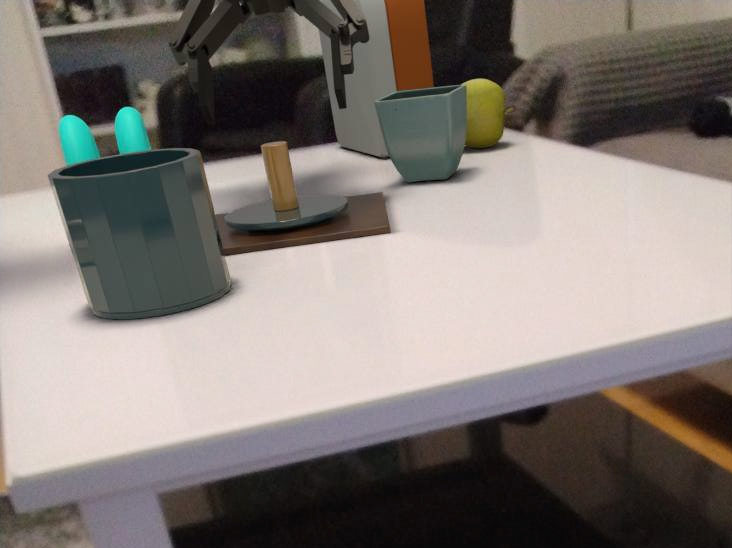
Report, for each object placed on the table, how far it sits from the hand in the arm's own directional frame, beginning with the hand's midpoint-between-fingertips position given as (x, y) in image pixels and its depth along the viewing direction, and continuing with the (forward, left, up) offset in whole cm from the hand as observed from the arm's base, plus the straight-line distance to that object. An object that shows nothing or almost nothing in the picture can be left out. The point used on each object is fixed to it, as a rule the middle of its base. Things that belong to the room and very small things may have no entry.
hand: (273, 107), depth 103 cm
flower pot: (+16, +12, -11) cm, 23 cm away
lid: (0, -5, -9) cm, 10 cm away
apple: (+24, +29, -11) cm, 39 cm away
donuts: (-23, +28, -11) cm, 38 cm away
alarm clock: (+12, +40, -11) cm, 43 cm away
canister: (-10, -27, -10) cm, 31 cm away
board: (0, -5, -10) cm, 12 cm away
